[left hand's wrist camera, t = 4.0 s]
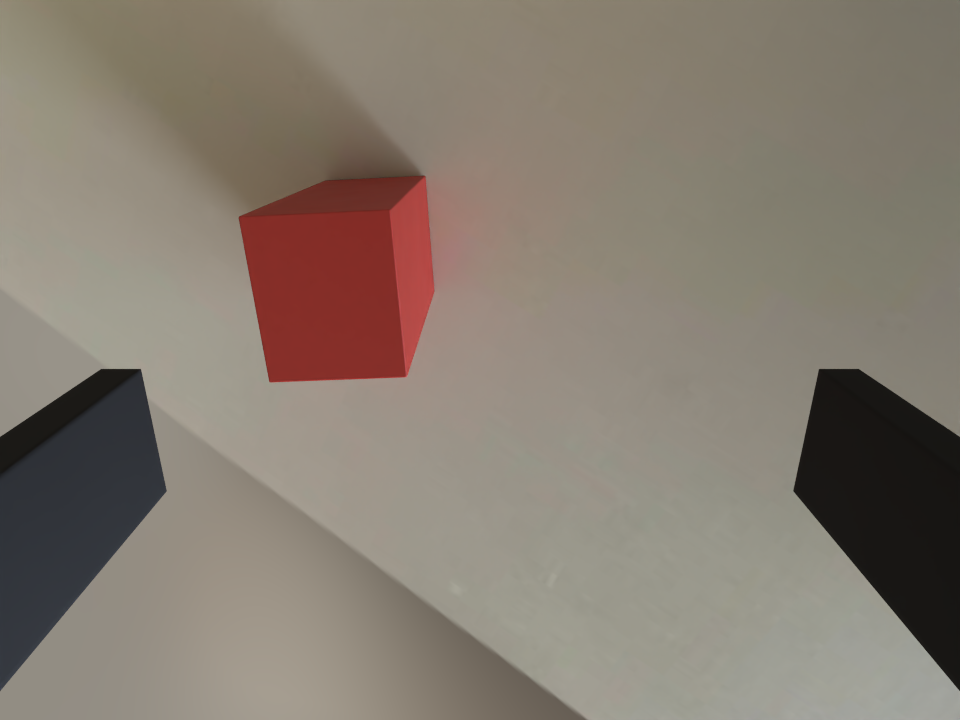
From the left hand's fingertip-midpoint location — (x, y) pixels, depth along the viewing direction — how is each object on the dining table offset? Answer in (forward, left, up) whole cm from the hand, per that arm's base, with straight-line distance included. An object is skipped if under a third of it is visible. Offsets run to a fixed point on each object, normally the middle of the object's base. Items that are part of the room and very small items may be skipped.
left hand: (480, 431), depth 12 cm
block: (-4, -3, -20) cm, 21 cm away
